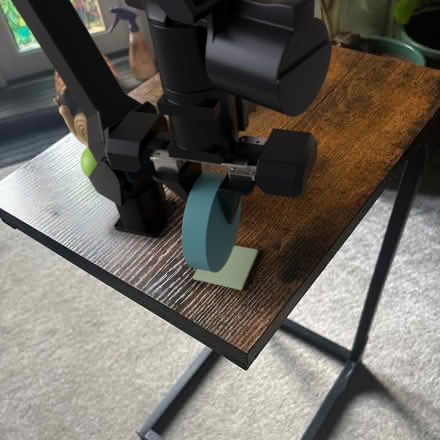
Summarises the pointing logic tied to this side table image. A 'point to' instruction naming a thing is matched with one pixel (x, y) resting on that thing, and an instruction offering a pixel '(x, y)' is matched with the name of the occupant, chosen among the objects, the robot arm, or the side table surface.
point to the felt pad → (231, 269)
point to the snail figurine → (78, 135)
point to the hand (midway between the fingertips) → (218, 219)
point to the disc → (208, 225)
